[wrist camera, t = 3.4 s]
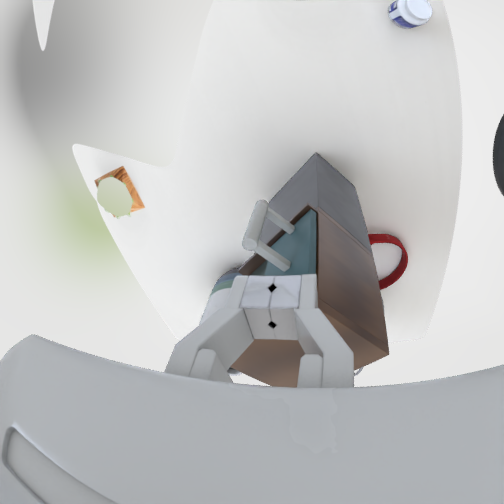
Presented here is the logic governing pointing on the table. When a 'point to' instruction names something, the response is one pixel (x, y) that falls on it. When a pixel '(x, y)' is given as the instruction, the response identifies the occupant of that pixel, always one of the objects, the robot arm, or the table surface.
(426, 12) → the pill bottle
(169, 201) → the table surface
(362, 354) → the cabinet
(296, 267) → the sliding door
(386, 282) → the headphones
